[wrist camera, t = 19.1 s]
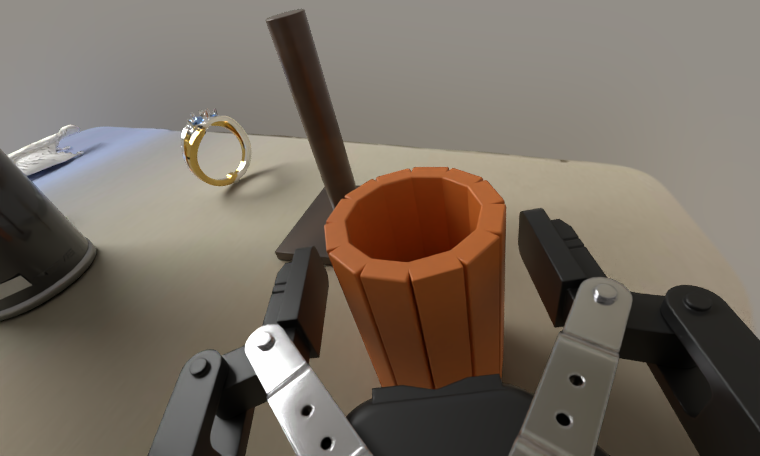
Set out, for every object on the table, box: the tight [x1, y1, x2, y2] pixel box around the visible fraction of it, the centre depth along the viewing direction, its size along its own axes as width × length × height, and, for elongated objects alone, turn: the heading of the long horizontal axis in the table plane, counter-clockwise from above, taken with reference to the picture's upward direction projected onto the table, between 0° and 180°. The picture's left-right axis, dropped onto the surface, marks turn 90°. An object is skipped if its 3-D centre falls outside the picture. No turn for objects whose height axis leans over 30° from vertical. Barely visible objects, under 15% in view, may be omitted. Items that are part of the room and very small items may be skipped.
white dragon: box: [7, 125, 84, 176], centre depth 57 cm, size 18×10×4 cm, turn 143°
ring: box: [181, 108, 251, 186], centre depth 37 cm, size 7×3×8 cm, turn 141°
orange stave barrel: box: [324, 167, 506, 389], centre depth 15 cm, size 6×6×10 cm
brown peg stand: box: [266, 9, 360, 265], centre depth 24 cm, size 9×9×15 cm
